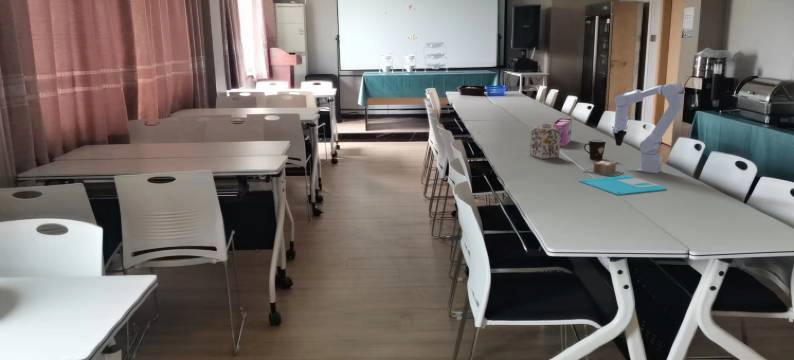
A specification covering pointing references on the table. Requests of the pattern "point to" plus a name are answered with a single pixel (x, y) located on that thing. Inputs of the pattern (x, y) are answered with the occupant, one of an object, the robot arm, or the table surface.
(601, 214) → the table surface
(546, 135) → the decorative jar
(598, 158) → the coffee mug
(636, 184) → the diskette
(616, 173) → the slate mat
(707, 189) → the table surface
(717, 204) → the table surface
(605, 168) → the cardboard box
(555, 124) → the gum box
